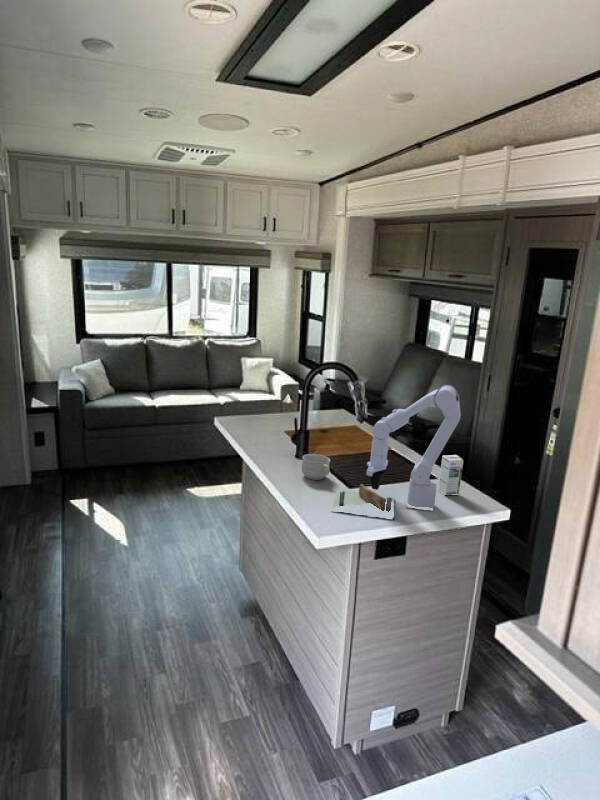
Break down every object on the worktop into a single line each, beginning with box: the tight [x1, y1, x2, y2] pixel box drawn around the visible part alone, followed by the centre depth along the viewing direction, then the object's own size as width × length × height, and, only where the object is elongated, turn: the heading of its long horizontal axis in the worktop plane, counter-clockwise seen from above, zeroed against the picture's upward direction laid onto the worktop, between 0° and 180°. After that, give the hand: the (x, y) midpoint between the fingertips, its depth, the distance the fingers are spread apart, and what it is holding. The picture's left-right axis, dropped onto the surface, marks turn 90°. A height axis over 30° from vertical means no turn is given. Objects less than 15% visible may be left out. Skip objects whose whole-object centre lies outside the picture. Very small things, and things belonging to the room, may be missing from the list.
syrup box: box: [437, 454, 464, 495], centre depth 208 cm, size 6×6×14 cm
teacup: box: [301, 453, 331, 481], centre depth 213 cm, size 14×11×8 cm
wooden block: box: [358, 484, 386, 511], centre depth 194 cm, size 14×1×4 cm, turn 30°
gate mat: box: [332, 488, 396, 508], centre depth 194 cm, size 21×18×1 cm
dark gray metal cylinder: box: [339, 491, 392, 512], centre depth 189 cm, size 18×2×6 cm, turn 80°
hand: (375, 488), depth 201 cm, fingers closed
